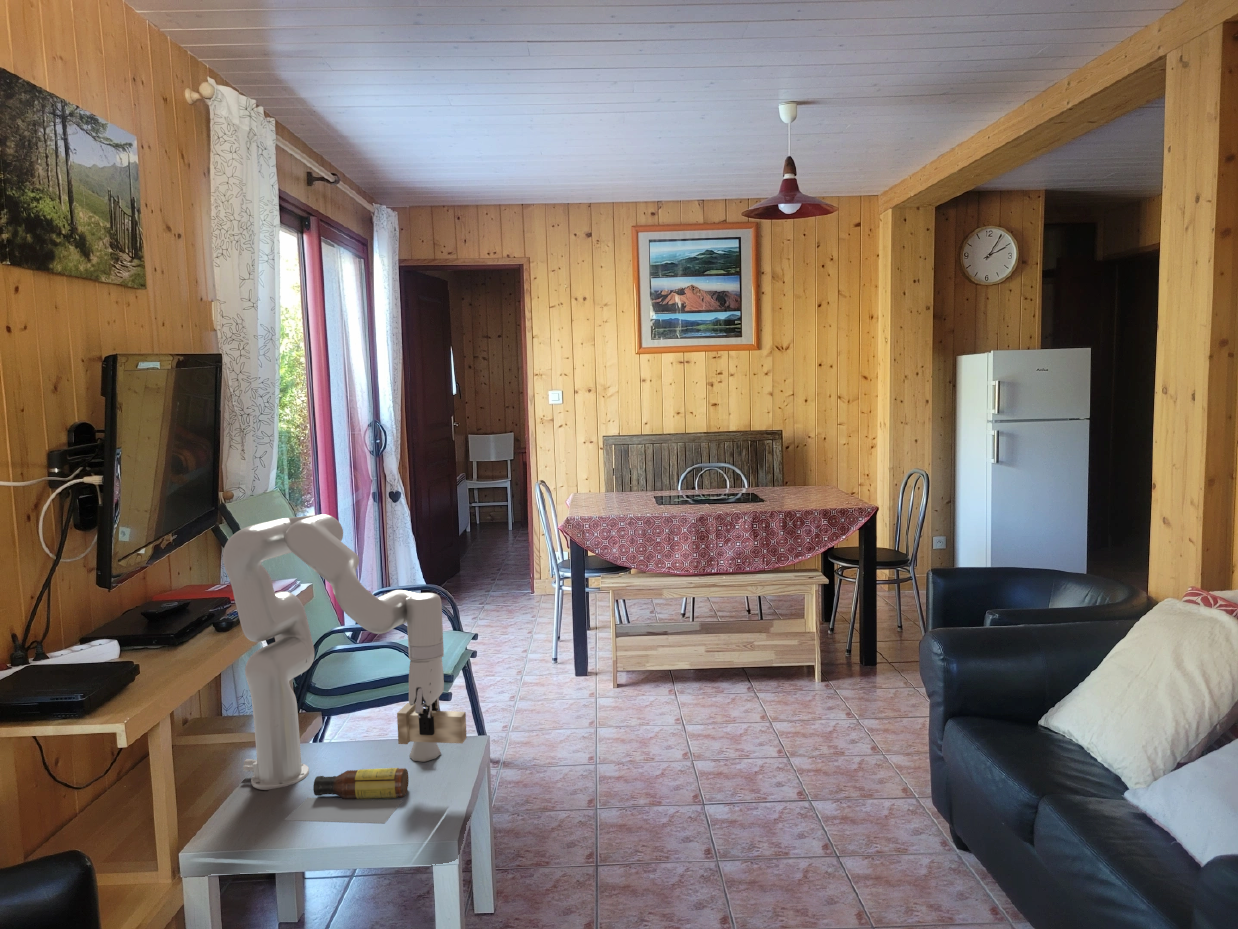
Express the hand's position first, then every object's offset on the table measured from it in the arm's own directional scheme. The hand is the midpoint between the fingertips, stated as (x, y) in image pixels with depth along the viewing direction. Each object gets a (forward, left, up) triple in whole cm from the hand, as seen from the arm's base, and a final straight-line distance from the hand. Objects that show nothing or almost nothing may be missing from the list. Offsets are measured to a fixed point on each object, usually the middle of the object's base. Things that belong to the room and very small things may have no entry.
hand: (429, 730), depth 193 cm
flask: (-9, +18, -14) cm, 24 cm away
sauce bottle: (-5, -3, -11) cm, 12 cm away
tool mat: (-16, -11, -14) cm, 24 cm away
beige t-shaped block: (+1, 0, -2) cm, 2 cm away
